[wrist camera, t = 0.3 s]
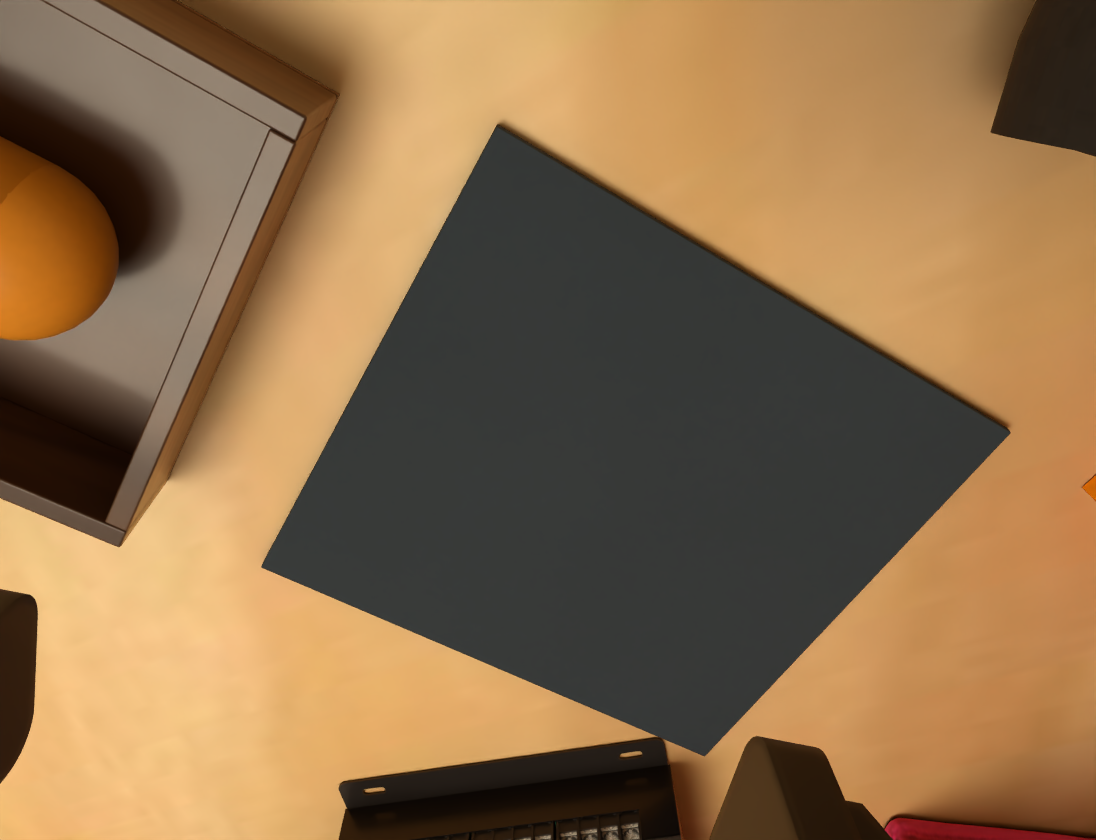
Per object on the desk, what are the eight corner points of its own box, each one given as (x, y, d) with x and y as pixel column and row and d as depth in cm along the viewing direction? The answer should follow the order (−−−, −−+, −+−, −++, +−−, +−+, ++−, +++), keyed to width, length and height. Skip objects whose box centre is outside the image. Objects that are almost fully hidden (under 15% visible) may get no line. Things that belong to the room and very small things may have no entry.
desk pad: (497, 123, 28) (496, 125, 28) (1006, 427, 33) (1011, 432, 33) (263, 561, 36) (260, 567, 36) (703, 750, 42) (704, 756, 41)
